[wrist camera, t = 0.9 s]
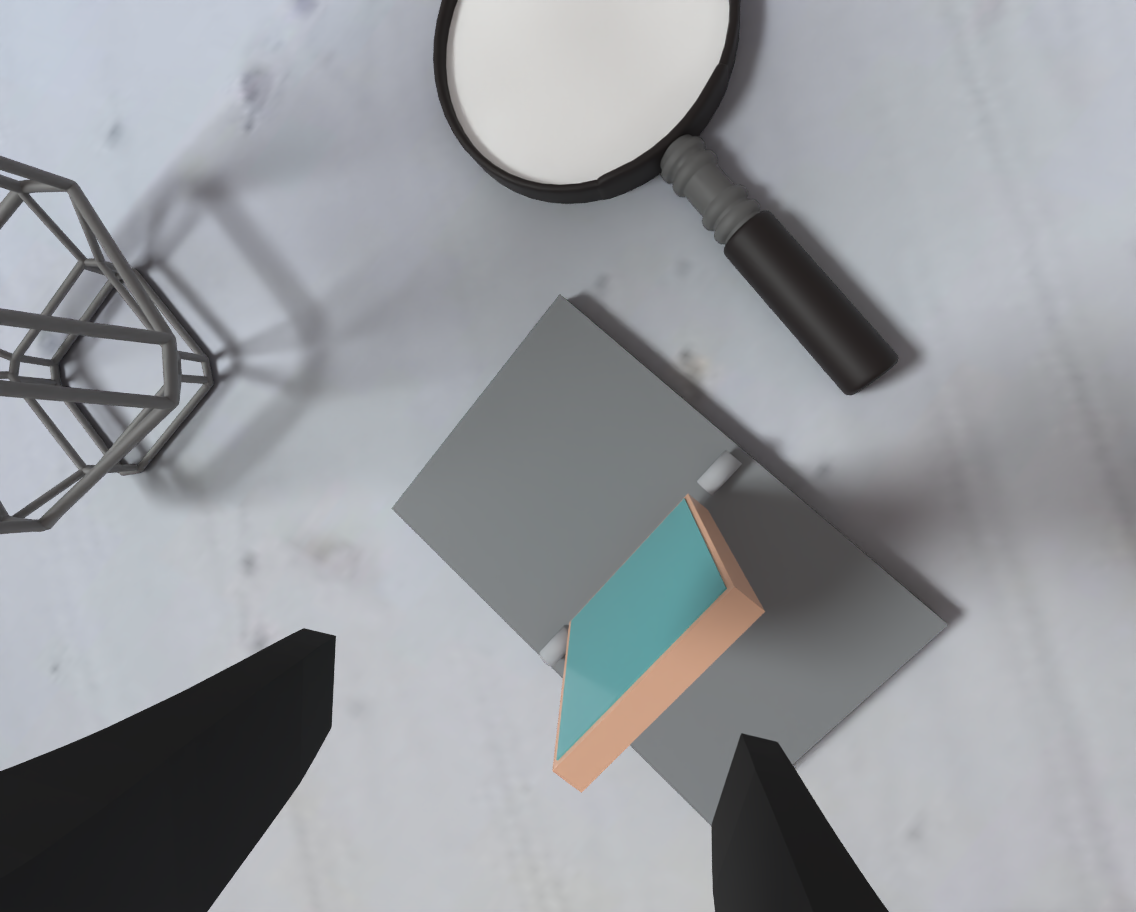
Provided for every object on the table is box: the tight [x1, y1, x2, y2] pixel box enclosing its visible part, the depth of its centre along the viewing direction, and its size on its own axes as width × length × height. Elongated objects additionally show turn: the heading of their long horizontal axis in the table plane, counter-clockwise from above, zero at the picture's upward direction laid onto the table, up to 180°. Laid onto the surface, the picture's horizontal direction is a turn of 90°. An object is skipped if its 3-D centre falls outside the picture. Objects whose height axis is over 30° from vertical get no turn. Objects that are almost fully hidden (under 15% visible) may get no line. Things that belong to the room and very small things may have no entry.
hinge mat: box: [392, 295, 948, 826], centre depth 24 cm, size 19×12×2 cm, turn 49°
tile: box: [553, 494, 765, 793], centre depth 19 cm, size 8×7×1 cm
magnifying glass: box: [433, 0, 898, 395], centre depth 23 cm, size 12×24×2 cm, turn 38°
